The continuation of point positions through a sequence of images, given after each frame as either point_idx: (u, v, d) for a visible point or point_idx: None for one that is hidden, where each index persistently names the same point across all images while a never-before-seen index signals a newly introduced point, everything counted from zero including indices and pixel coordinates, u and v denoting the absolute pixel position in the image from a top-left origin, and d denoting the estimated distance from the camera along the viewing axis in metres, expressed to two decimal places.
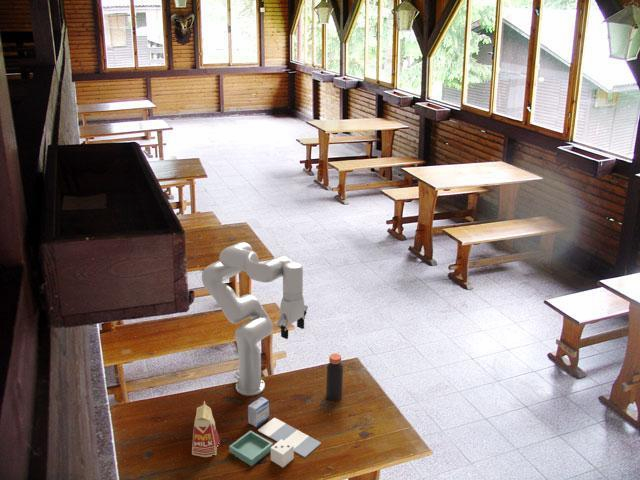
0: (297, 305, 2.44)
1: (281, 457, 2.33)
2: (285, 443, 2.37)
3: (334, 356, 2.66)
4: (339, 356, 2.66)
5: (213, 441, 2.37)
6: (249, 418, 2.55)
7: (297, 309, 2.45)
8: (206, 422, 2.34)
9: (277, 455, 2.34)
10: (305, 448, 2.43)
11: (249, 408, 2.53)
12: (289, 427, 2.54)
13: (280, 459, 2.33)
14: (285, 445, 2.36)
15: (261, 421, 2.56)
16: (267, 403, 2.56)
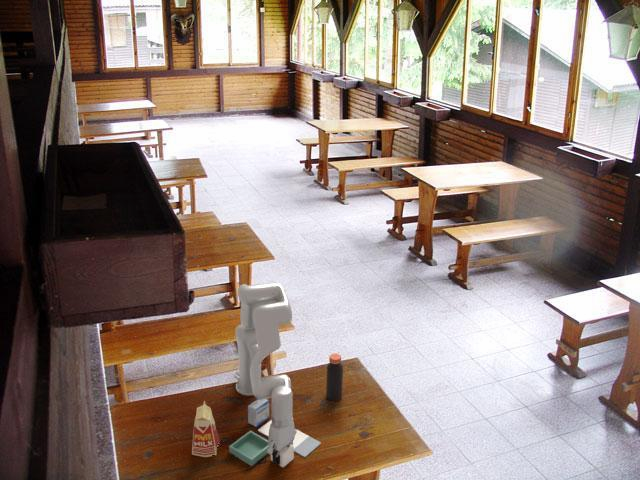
0: (287, 430, 2.31)
1: (281, 457, 2.33)
2: None
3: (334, 356, 2.66)
4: (339, 356, 2.66)
5: (213, 441, 2.37)
6: (249, 418, 2.55)
7: (286, 434, 2.31)
8: (206, 422, 2.34)
9: None
10: (305, 448, 2.43)
11: (249, 408, 2.53)
12: None
13: (280, 458, 2.33)
14: None
15: (261, 421, 2.56)
16: (267, 403, 2.56)
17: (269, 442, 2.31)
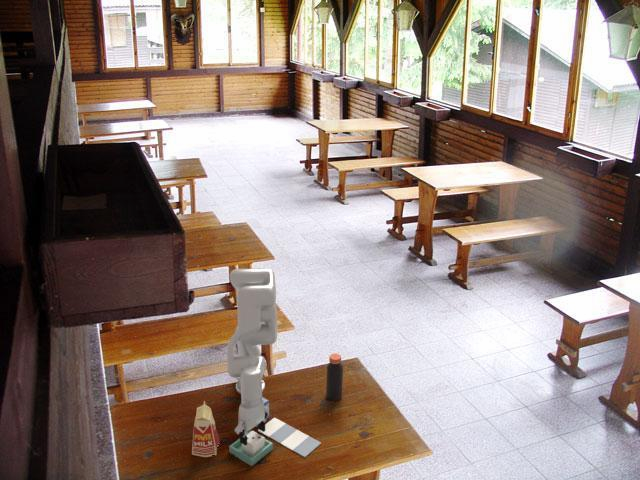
0: (256, 410, 2.32)
1: (252, 448, 2.36)
2: (256, 434, 2.40)
3: (334, 356, 2.66)
4: (339, 356, 2.66)
5: (213, 441, 2.37)
6: None
7: (256, 414, 2.32)
8: (206, 421, 2.34)
9: (248, 447, 2.37)
10: (305, 448, 2.43)
11: None
12: (289, 427, 2.54)
13: (250, 450, 2.37)
14: (256, 436, 2.39)
15: None
16: (267, 403, 2.56)
17: (239, 422, 2.32)
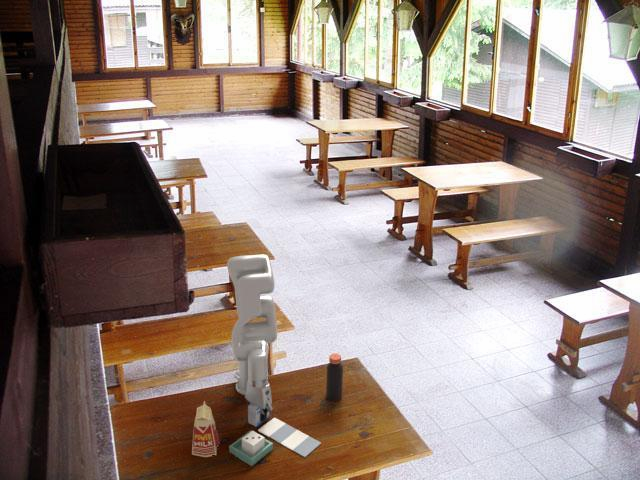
0: (253, 391, 2.50)
1: (252, 448, 2.36)
2: (256, 434, 2.40)
3: (334, 356, 2.66)
4: (339, 356, 2.66)
5: (213, 441, 2.37)
6: (249, 418, 2.55)
7: (253, 394, 2.51)
8: (206, 422, 2.34)
9: (248, 447, 2.37)
10: (305, 448, 2.43)
11: (249, 408, 2.53)
12: (289, 427, 2.54)
13: (250, 450, 2.37)
14: (256, 436, 2.39)
15: None
16: None
17: None
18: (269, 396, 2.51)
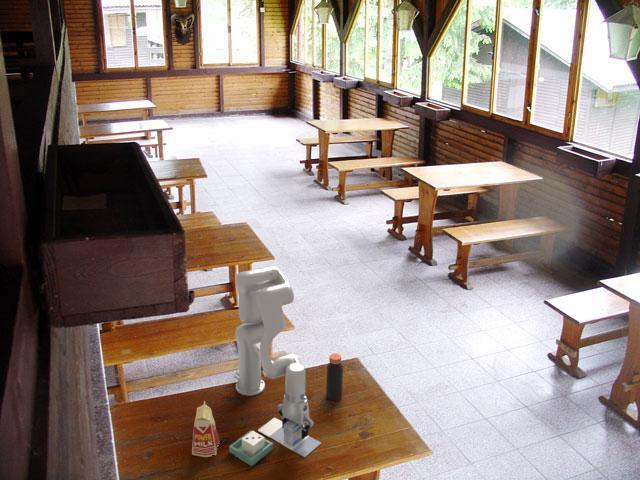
0: (290, 406, 2.39)
1: (252, 448, 2.36)
2: (256, 434, 2.40)
3: (334, 356, 2.66)
4: (339, 356, 2.66)
5: (213, 441, 2.37)
6: (285, 437, 2.44)
7: (290, 409, 2.40)
8: (206, 422, 2.34)
9: (248, 447, 2.37)
10: (305, 448, 2.43)
11: (285, 426, 2.43)
12: None
13: (250, 450, 2.37)
14: (256, 436, 2.39)
15: (297, 440, 2.45)
16: None
17: None
18: (307, 412, 2.40)
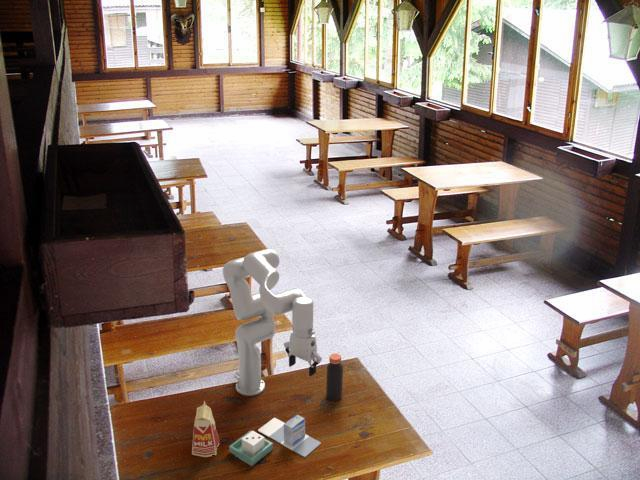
0: (297, 342, 2.32)
1: (252, 448, 2.36)
2: (256, 434, 2.40)
3: (334, 356, 2.66)
4: (339, 356, 2.66)
5: (213, 441, 2.37)
6: (285, 437, 2.44)
7: (297, 345, 2.33)
8: (206, 422, 2.34)
9: (248, 447, 2.37)
10: (305, 448, 2.43)
11: (285, 426, 2.43)
12: None
13: (250, 450, 2.37)
14: (256, 436, 2.39)
15: (297, 440, 2.45)
16: (303, 421, 2.46)
17: None
18: (314, 348, 2.33)
